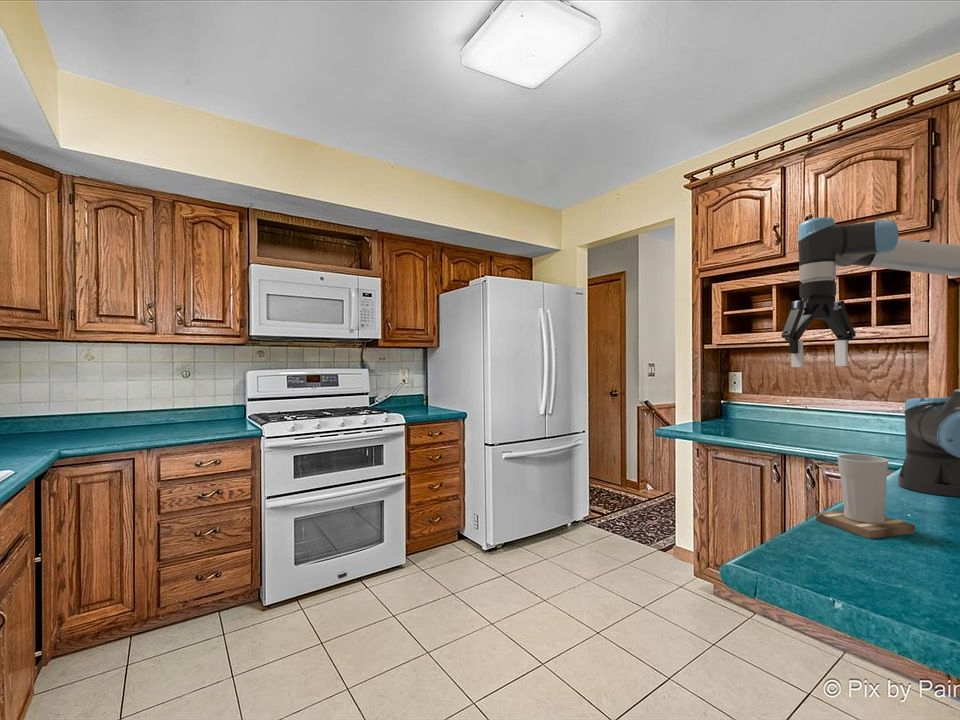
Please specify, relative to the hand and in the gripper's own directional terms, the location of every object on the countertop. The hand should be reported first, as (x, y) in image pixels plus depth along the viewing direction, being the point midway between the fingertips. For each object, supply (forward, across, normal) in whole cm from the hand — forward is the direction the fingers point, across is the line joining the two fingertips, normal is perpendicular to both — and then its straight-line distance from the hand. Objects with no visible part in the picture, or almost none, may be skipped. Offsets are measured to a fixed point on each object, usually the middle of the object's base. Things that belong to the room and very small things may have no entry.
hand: (819, 366), depth 120 cm
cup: (+30, +14, +21) cm, 39 cm away
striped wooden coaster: (+32, +14, +21) cm, 41 cm away
